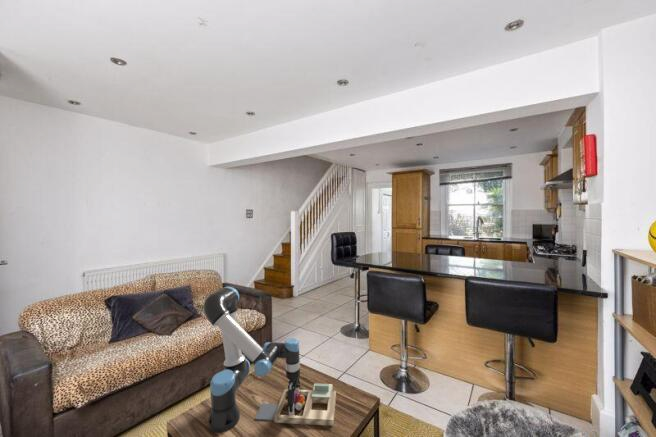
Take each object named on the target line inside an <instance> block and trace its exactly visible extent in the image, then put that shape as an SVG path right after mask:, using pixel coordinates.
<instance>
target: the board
mask: <svg viewBox="0 0 656 437" xmlns="http://www.w3.org/2000/svg"><path fill="white" fill-rule="evenodd" d="M330 384H331V392H330V398H314V397H312V393H313V388H314V385H313V386H312V387H313V388H312V389H299V393H301V394H300V395H303V396H304V398H305V397H306V400H305V405H304V410H303V411H302V412H303V413H302V415H295V414H294V415H289V414H281V413H282V411H283V407H284V404H285V402H286V399H287V397H288V388H284V390H283V392H282V394H281V397H280V399H279V403H278V404H279V405H278V407H277V410H276V412H275V415H274V421H273V423H275V424H279V423H280V424H295V425H296V424H298V425H313V426H314V425H315V426H329V427H333V426H334V420H335V413H336V412H335V409H336V401H337V391H336V390H333V389H334V386H333V384H332V383H330ZM313 404H327V409H326V410H325V409H324V410H322V409H312V408H313Z"/></svg>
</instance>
